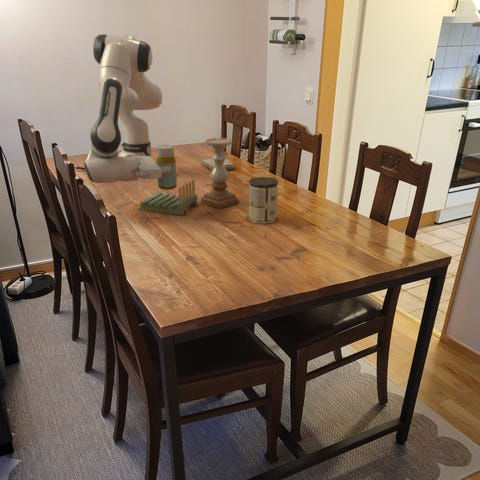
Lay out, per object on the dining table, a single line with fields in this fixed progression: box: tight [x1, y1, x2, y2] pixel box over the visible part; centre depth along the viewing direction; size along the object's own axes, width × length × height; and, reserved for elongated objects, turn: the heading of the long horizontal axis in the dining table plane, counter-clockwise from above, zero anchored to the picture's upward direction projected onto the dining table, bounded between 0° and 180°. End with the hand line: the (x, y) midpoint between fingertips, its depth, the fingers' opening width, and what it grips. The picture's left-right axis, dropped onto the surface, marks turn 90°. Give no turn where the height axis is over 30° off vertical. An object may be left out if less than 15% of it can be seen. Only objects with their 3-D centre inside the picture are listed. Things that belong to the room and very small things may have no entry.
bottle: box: [156, 144, 178, 191], centre depth 180 cm, size 7×7×15 cm
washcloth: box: [200, 158, 235, 171], centre depth 242 cm, size 12×18×3 cm, turn 26°
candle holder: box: [200, 137, 239, 209], centre depth 188 cm, size 11×11×24 cm
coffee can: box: [248, 176, 279, 225], centre depth 174 cm, size 10×10×14 cm
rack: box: [139, 179, 198, 216], centre depth 185 cm, size 18×14×10 cm
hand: (168, 166), depth 180 cm, fingers closed on bottle, 5 cm apart
